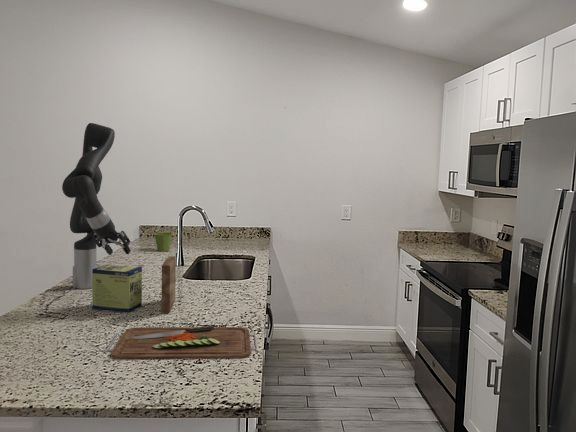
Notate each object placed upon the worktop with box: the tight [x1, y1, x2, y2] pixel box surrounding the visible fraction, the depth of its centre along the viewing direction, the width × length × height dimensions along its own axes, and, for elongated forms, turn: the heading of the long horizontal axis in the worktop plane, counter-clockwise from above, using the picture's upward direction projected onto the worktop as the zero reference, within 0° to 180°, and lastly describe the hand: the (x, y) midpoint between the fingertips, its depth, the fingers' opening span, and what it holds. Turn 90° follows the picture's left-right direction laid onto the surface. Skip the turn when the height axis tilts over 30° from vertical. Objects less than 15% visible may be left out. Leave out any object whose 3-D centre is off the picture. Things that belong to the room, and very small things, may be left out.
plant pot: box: [153, 232, 174, 253], centre depth 332 cm, size 12×12×11 cm
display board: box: [160, 255, 177, 314], centre depth 202 cm, size 3×20×18 cm, turn 6°
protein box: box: [91, 264, 143, 314], centre depth 198 cm, size 10×16×16 cm
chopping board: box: [103, 325, 259, 360], centre depth 162 cm, size 45×27×3 cm, turn 96°
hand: (119, 253), depth 204 cm, fingers open, 8 cm apart
